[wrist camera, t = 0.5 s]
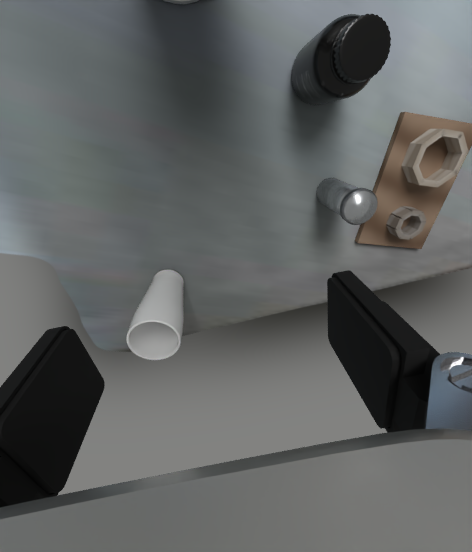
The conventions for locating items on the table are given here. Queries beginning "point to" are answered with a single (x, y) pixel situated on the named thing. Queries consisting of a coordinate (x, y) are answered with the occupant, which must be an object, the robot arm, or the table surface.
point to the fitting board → (408, 191)
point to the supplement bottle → (341, 59)
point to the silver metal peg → (347, 200)
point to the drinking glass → (159, 318)
